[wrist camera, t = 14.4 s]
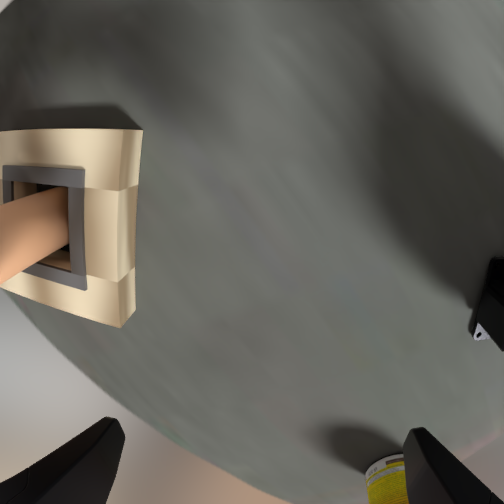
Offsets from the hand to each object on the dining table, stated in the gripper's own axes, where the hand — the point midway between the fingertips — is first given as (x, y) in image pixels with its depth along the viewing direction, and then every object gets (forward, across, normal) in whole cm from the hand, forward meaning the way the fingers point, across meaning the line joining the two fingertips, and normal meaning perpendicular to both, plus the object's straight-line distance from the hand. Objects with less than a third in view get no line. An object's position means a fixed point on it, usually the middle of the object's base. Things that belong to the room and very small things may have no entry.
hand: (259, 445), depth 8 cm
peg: (+12, +14, -4) cm, 19 cm away
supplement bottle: (+12, -12, +22) cm, 28 cm away
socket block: (+12, +14, -4) cm, 19 cm away
